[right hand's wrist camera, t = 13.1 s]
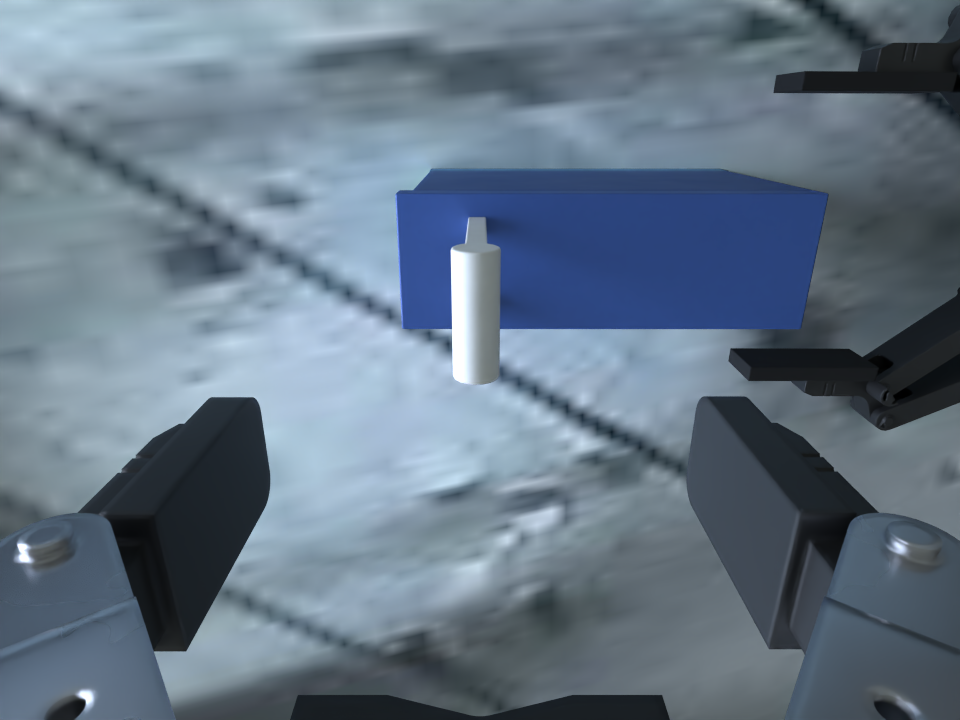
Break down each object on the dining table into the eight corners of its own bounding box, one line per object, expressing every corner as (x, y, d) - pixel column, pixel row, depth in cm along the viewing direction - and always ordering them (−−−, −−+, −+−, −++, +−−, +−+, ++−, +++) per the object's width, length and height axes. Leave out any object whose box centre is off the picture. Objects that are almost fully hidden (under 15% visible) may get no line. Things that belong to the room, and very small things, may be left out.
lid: (405, 321, 27) (373, 407, 19) (398, 190, 25) (359, 225, 17) (789, 321, 27) (919, 408, 19) (815, 190, 25) (973, 225, 17)
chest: (434, 266, 37) (417, 321, 27) (431, 168, 35) (412, 189, 25) (706, 266, 37) (788, 321, 27) (720, 168, 35) (814, 189, 25)
